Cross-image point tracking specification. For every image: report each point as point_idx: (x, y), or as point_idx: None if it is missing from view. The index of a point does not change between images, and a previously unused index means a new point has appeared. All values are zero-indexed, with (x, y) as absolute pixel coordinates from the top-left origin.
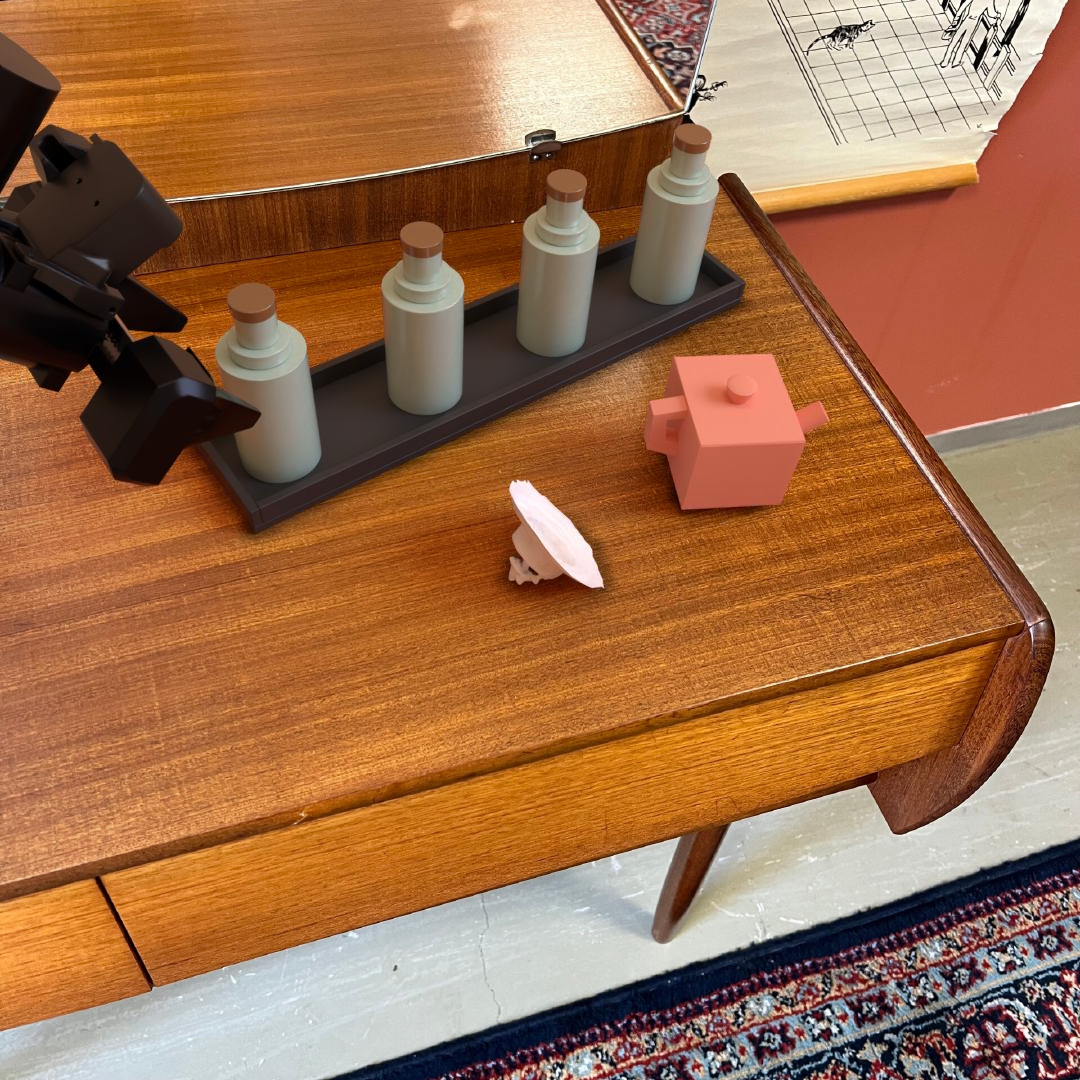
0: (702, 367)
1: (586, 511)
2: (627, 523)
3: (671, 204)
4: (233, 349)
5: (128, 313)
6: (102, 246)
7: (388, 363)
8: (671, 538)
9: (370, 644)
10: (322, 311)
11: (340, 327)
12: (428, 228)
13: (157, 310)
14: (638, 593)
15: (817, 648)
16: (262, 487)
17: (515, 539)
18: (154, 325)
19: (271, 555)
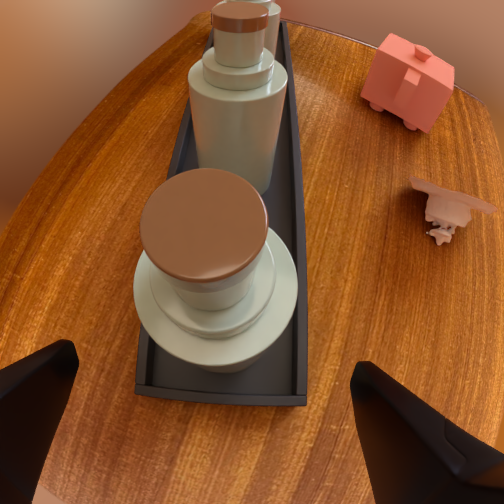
0: (391, 49)
1: (402, 169)
2: (418, 160)
3: None
4: (216, 330)
5: (31, 437)
6: None
7: None
8: (433, 152)
9: (443, 364)
10: (89, 195)
11: (114, 192)
12: (235, 4)
13: (43, 386)
14: (462, 192)
15: (496, 160)
16: (255, 371)
17: (449, 219)
18: (59, 400)
19: (330, 401)
